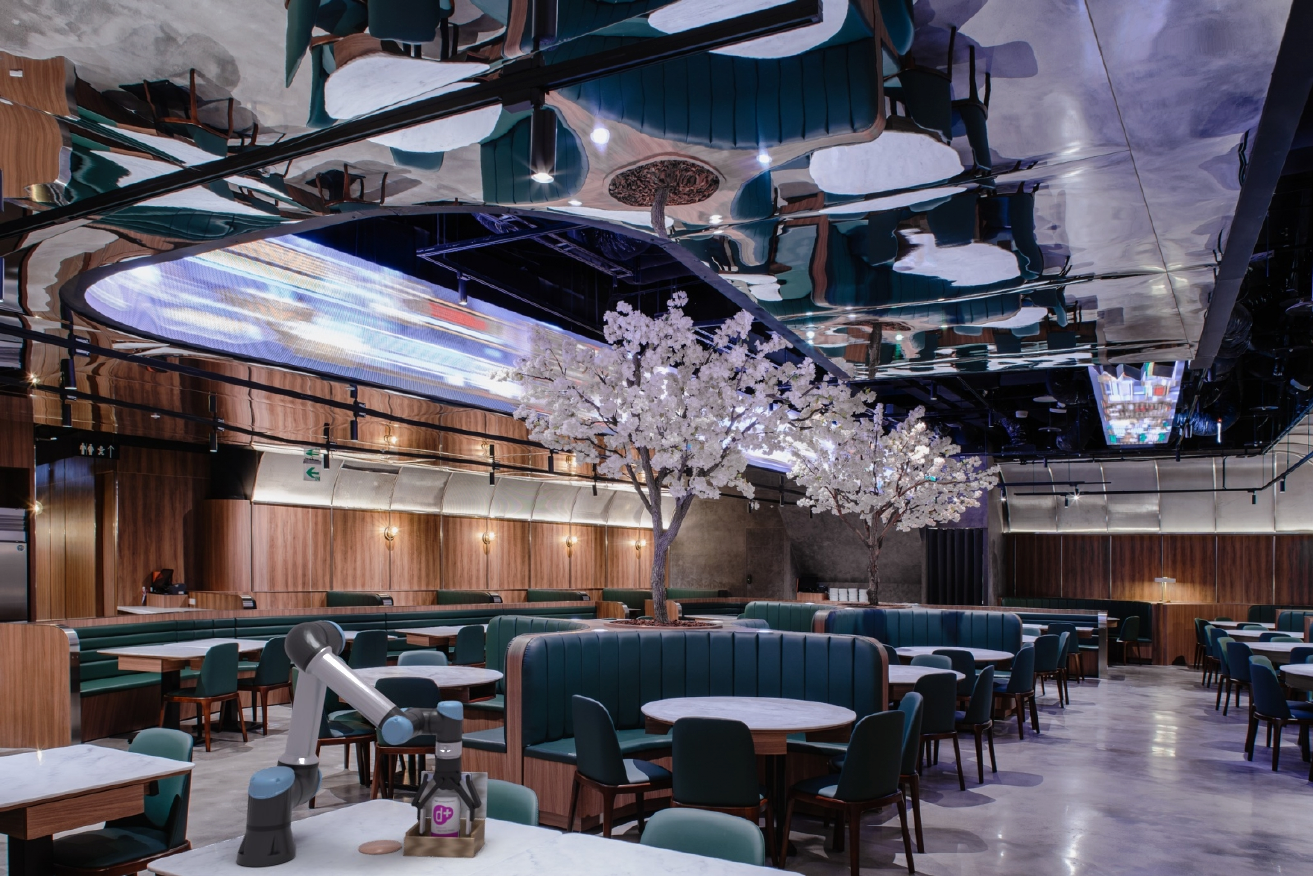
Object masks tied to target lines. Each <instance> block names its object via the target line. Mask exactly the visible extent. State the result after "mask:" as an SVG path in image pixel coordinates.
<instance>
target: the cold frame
mask: <svg viewBox="0 0 1313 876" xmlns="http://www.w3.org/2000/svg"><path fill="white" fill-rule="evenodd" d="M427 772H429V773H430V774H434V773H435V770H434V771H433V770H431V771H429V770H428V771H427V770H426V771H425V770H423V771H421V774H420V775H421V776H420V777H421V778H420V785H421V784H422V782H423V776H424V774H425V773H427ZM461 773H462V775H464V774H468V773H471V774H472V781H473V784H474V786H475V788H476V791H477V793H478V795H479V798H480V800H481V802H482V805H481V806H480V807H479V808H476V809H475V819H474V821H471V832H470V833H469V834H466V820H467V810H468V809H469V808H468V806H467V805H466V804H465V802H464V801H463V800H462V798H461V797H460V795H459V797H460V799H461V816H460V838H456V837H431V817H432V801H433V799H434V797H435V795H437V794H440V793H457V792H456V791H455V790H454V789H453V790H447V789H446V790H441V789H439V788H438V789H437V791H436V792H435V793H434V794H433V795H432V796H431V798H430V799H429V800H428V801H427V802H426V804H425V805H424V806H423V807H426V822H425V831H424V832H423V833H420V820H417V822H416V823H415V824H413V825H412V827H411V826H410V828H408V829H407V831H406V832H405V833H404V834H405V835H404V837H403V852H402V853H403V854H402V855H403V857H425V858H426V857H427V858H428V856H430V857H431V858H433V857H434V858H436V857H437V858H464V859H465V858H467V859H468V858H471V859H472V858H473V859H474V857H475V856H476V855H477V853H478V852H479V851H480V850H481V849H482V847H483V846H484V845H485V837H486V836H485V835H486V833H485V832H486V819H487V805H488V804H487V803H488V801H487V800H488V799H487V798H488V772H485V771H484V772H483V771H482V772H480V771H477V772H476V771H475V772H474V771H471V772H470V771H461ZM435 784H436V783H435V781H434V780H433V778H432V779H431V780H430V781H429V782H428V784H427V786H426V788H425V790H424V792H423V794H422V796H421V798H420V800H419V802H421V801H422V800H423V799H424V797H425V796H426V795H427V794H428V793H429V792H430V790H431V789H432V788H433V787H434V785H435ZM460 784H461V785H462V787H463V789H464V790H465V792H466V793H467V794H468V796H469V797H470V798H471V800H472V801H473V799H472V797H471V794H470V792H469V790H468V787H467V785H466V782H464V780H463V779H461V781H460ZM457 794H458V793H457ZM473 802H474V801H473ZM432 856H433V857H432Z"/></svg>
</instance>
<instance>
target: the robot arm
mask: <svg viewBox="0 0 1313 876" xmlns="http://www.w3.org/2000/svg"><path fill="white" fill-rule="evenodd" d="M345 635H346V634H345V632H344V630H343V629H342V627H341V626H340V625H339V624H337V623H336V622H334V621H330V620H320V619H319V620H314V621H309V622H307V621H306V622H302V623H299V624H296V625H295V626H293V627H292V628H291V629H290V630H289V631H288V633H287V634H286V636H285V639H284V650H285V653H286V655H287V657H288V658H289V659H290V661H291V662H292V663H293V664H294V666H295V667H296V668H297V671H298V675H297V681H296V686H295V691H294V692H295V693H294V698H293V704H292V711H291V714H290V715H291V716H290V721H289V727H288V733H287V739H286V744H285V749H284V750H285V751H284V752H283V753H282V754H281V755H280V756H279V757H278V758H277V763H276V766H272V767H268V768H262V769H260V770H258V771H256V772H255V773H253V774H252V776H251V777H250V779H249V785H248V788H247V792H248V795H247V806H246V807H247V809H246V822H245V823H246V824H245V825H246V826H245V832H244V835H243V837H242V841H241V843H240V846H239V848H238V850H237V855H236V863H237V864H238V865H241V866H243V867H252V868H253V867H256V868H257V867H269V866H275V865H279V864H280V865H281V864H284V863H286V862H289V861H291V860H293V859H294V858H295V857H296V852H297V846H296V841H295V838H294V834H293V831H292V814H293V813H292V812H293V809H295V808H297V807H299V806H302V805H305V804H306V803H308V802H309V801H311V800H312V799H313V798H314V797H315V796H316V795H317V793H318V792H319V790H320V789H321V786H322V782H323V774H322V771H321V770H320V767H319V764H320V758H319V757H318V756H317V754H316V752H317V751H316V750H317V746H318V739H319V735H320V734H319V733H320V727H321V722H322V718H323V717H322V716H323V715H322V714H323V710H324V705H325V698H326V693H327V687H328V688H329V689H331V690H332V691H333V692H334V693H335V694H337V696H339V697H340V698H341V699H343V701H345V702H346V703H347V704H349V705H350V706H351V707H352V708H353V709H354V710H356V711H357V712H358V713H360V715H362V716H363V717H364V718H366V720H368V721H369V722H370V723H371V724H372V725H374V726H375V727H376V728H378V730H380V731H381V735H382V738H383V740H384V741H385V742H386V743H387V744H389V745H393V746H396V745H402V744H405V743H406V742H408V741H409V740H411V739H413V738H416V737H417V736H422V735H423V736H424V735H425V736H435V756H436V757H435V758H434V771H435V773H434V774H430V773H429V772H427V773H425V774H424V776H423V782H422V784H421V783H420V786H419V788H418V789H417V792H416V793H415V796H414V797H413V798H412V799H413V800H412V801H411V802H410V803H411V804H410V805H411V807H413V808H414V807H415V808H416V810H417V811H416V812H417V813H416V815H417V816H416V820H417V821H418V820H420V833H423V832H424V831H425V822H426V818H427V817H426V807H423V806H424V805H425V804H426V802H427V801H428V800H429V799H430V798H431V796H432V795H433V794H434V793H435V792H436V791H437V789H438V788H439V789H441V790H446V789H447V790H453V789H454V790H455V791H456V792H457V793H458V794H459V795H460V797H461V798H462V800H463V801H464V802H465V804H466V805H467V806H468V808H469V809H468V810H467V818H466V819H467V820H466V834H469V833H470V832H471V821H474V819H475V809H476V808H479V807H480V806H481V805H482V802H481V800H480V798H479V795H478V793H477V791H476V788H475V786H474V784H473V781H472V774H471V773H468V774H464V775H462V773H461V772H462V757H461V755H462V754H463V727H464V706H463V703H462V702H461V701H458V700H445V701H440V702H438V704H437V707H436V708H425V707H424V708H420V707H404V708H403V707H402V708H399V707H398V706H397V704H395V703H393V702H392V701H391V700H390V699H389V698H388V697H386V696H385V695H384V694H383V693H381V692H380V691H379V690H378V689H376V688H375V686H373V685H372V684H370V683H369V682H368V681H367V680H365V678H364V677H362V676H361V675H360V674H359V673H357V672H356V671H355V670H353V669H352V668H351V667H350V666H349V665H347V664H346V663H345V662H344V661H342V659H340V658H339V657H338V656H339V655H340V654H341V653H342V652H343V650H344V648H345V645H346V636H345ZM432 778H433V780H434V781H435V783H436V784H435V785H434V787H433V788H432V789H431V790H430V792H429V793H428V794H427V795H426V796H425V797H424V799H423V800H422V801H421V802H420V798H421V796H422V794H423V792H424V790H425V788H426V786H427V784H428V782H429V781H430V780H431V779H432ZM461 779H463V780H464V782H466V785H467V787H468V790H469V792H470V794H471V797H472V799H473V801H474V802H473V801H472V800H471V798H470V797H469V796H468V794H467V793H466V792H465V790H464V789H463V787H462V785H461V784H460V781H461Z"/></svg>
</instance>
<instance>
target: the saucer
mask: <svg viewBox="0 0 1313 876" xmlns="http://www.w3.org/2000/svg"><path fill="white" fill-rule="evenodd" d="M402 848H403V843H402V842H401V841H399V840H394V839H393V840H392V839H377V840H371V841H367V842H364V843H362V844H360V845H359V846H358V852H359V853H361V854H365V855H374V856H375V855H386V854H392V853H394V852H397V851H399V850H401V849H402Z"/></svg>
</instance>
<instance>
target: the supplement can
mask: <svg viewBox="0 0 1313 876" xmlns="http://www.w3.org/2000/svg"><path fill="white" fill-rule="evenodd" d="M460 816H461V799H460V797H459V794H457V793H440V794H437V795H435V797H434V799H433V801H432V817H430V818H431V837H456V838H460Z"/></svg>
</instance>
